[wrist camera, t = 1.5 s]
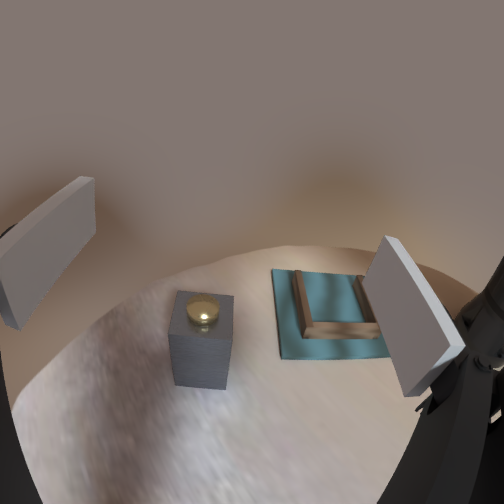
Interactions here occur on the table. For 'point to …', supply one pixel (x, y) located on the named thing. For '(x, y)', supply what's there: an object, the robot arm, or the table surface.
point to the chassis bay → (325, 317)
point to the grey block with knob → (201, 339)
